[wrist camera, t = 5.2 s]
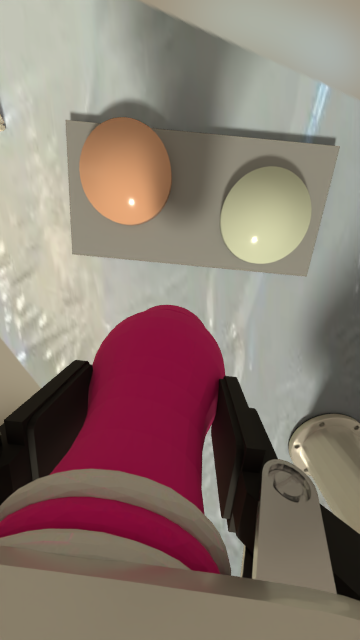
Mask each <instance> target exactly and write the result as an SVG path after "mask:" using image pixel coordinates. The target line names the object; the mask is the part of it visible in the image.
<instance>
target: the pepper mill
mask: <svg viewBox="0 0 360 640" xmlns="http://www.w3.org/2000/svg"><path fill="white" fill-rule="evenodd" d="M92 366H93V372H92V377H91V381H90V385H89V397H88V411H87V416H86V419H85V422H84V425H83V427H82V429H81V431H80V432H79V434H78V436H77V438H76V439H75V441H74V443H73V445H72V446H71V448H70V450H69V451H68V452H67V454H66V455H65V456H64V457H63V459H62V460H61V461H60V462H59V464H58V465H57V466H56V467H55V469H54V470H53V471H52V472H51V474H50V475H48V476H45V477H42V478H39V479H36V480H34V481H33V482H31V483H29V484H27V485H25V486H23V487H21V488H19V489H18V490H17V491H15V492H14V493H13V494H12V495H10V496H9V497H8V498H7V499H6V500H5V501H4V502H3V503H2V504H1V506H0V546H7V547H16V548H24V549H32V550H37V551H41V552H47V553H53V554H59V555H65V556H73V557H81V558H89V559H99V560H113V561H125V562H133V563H141V564H148V565H155V566H163V567H170V568H178V569H185V570H193V571H200V572H207V573H215V574H222V575H230V576H231V568H230V563H229V559H228V555H227V551H226V547H225V544H224V542H223V540H222V538H221V536H220V534H219V532H218V531H217V529H216V528H215V526H214V525H213V523H212V522H211V521H210V520H209V519H208V518H207V517H206V516H205V515H204V507H203V498H202V490H201V485H202V450H203V445H204V440H205V436H206V434H207V432H208V430H209V428H210V426H211V425H212V423H213V421H214V419H215V415H216V410H217V402H218V390H219V379H223V377H224V376H225V368H224V362H223V357H222V354H221V350H220V348H219V346H218V344H217V342H216V341H215V339H214V338H213V336H212V335H211V334H210V332H209V331H208V330H207V329H206V328H205V326H204V325H203V323H202V322H201V320H200V319H199V318H198V317H197V316H196V315H194V314H193V313H192V312H190V311H189V310H187V309H185V308H182V307H179V306H174V305H159V306H155V307H152V308H150V309H148V310H146V311H144V312H140V313H137V314H135V315H133V316H130V317H128V318H126V319H125V320H123V321H122V322H121V323H119V324H118V325H117V326H116V327H115V328H114V329H113V330H112V331H111V332H110V333H109V334H108V336H107V337H106V338H105V340H104V341H103V342H102V344H101V346H100V348H99V350H98V351H97V353H96V356H95V359H94V362H93V365H92Z"/></svg>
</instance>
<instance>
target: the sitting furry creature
mask: <svg viewBox="0 0 360 640" xmlns="http://www.w3.org/2000/svg"><path fill="white" fill-rule="evenodd" d="M3 124H4V121H3V119H2V117H1V115H0V132H1V131H4V130H5V126H4V125H3Z"/></svg>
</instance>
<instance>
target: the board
mask: <svg viewBox="0 0 360 640" xmlns="http://www.w3.org/2000/svg"><path fill="white" fill-rule="evenodd" d="M100 124H101V123H92V122H82V121H71V120H66V137H67V157H68V176H69V196H70V216H71V236H72V254H76V255H86V256H97V257H107V258H118V259H128V260H139V261H149V262H160V263H170V264H181V265H191V266H202V267H212V268H223V269H233V270H244V271H254V272H265V273H275V274H286V275H296V276H306V277H307V273H308V269H309V265H310V261H311V257H312V253H313V249H314V246H315V242H316V238H317V234H318V230H319V226H320V222H321V218H322V214H323V211H324V207H325V203H326V199H327V195H328V191H329V187H330V183H331V179H332V176H333V172H334V168H335V164H336V160H337V156H338V152H339V148H340V146H331V145H321V144H310V143H300V142H290V141H279V140H269V139H258V138H248V137H238V136H227V135H217V134H206V133H196V132H186V131H175V130H165V129H154V128H151V129H152V130H153V131H154V132H155V133H156V134H157V135H158V137H159V138H160V139H161V141H162V143H163V144H164V146H165V148H166V150H167V153H168V156H169V160H170V165H171V172H172V185H171V191H170V195H169V198H168V200H167V202H166V204H165V206H164V208H163V209H162V210H161V212H160V213H159V214H158V215H157V216H156V217H154V218H153V219H152V220H150V221H148V222H146V223H144V224H140V225H134V226H128V225H122V224H119V223H116V222H114V221H112V220H110V219H108V218H106V217H105V216H103V215H102V214H101V213H99V212H98V211H97V210H96V209H95V208H94V207H93V205H92V204H91V203H90V201H89V200H88V198H87V196H86V194H85V192H84V190H83V187H82V183H81V179H80V171H79V162H80V155H81V151H82V148H83V145H84V143H85V141H86V139H87V137H88V136H89V135H90V133H91V132H92V131H93V130H94V129H95V128H96V127H97V126H98V125H100ZM268 166H276V167H281V168H284V169H287V170H289V171H291V172H293V173H294V174H296V175H297V176H298V177H299V178H300V179H301V180H302V182H303V183H304V184H305V186H306V188H307V190H308V192H309V195H310V200H311V208H312V210H311V219H310V224H309V227H308V230H307V232H306V234H305V236H304V238H303V240H302V241H301V242H300V244H299V245H298V246H297V247H296V248H295V249H294V250H293V251H292V252H291V253H290V254H288V255H287V256H285V257H284V258H282V259H280V260H277V261H275V262H271V263H265V264H257V263H249V262H246V261H243V260H241V259H239V258H237V257H236V256H234V255H233V254H232V253H231V252H230V251H229V250H228V249H227V247H226V245H225V244H224V242H223V239H222V237H221V233H220V226H219V220H220V212H221V208H222V205H223V203H224V200H225V198H226V197H227V195H228V193H229V192H230V190H231V189H232V188H233V186H234V185H235V184H236V183H237V182H238V181H239V180H240V179H241V178H242V177H243V176H245V175H246V174H248V173H249V172H251V171H253V170H256V169H259V168H262V167H268Z"/></svg>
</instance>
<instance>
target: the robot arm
mask: <svg viewBox="0 0 360 640" xmlns="http://www.w3.org/2000/svg"><path fill="white" fill-rule="evenodd" d="M92 372H93V366H92V365H90V364H89V362H88V361H81V360H75V361H73V362H72V363H71V364H70V365H69V366H67V367H66V368H65V369H64V370H63V371H61V372H60V373H59V374H58V375H57V376H56V377H54V378H53V379H52V380H51V381H50V382H48V383H47V384H46V385H45V386H44V387H43V388H41V389H40V390H39V391H38V392H37V393H35V394H34V395H33V396H32V397H31V398H30V399H28V400H27V401H26V402H25V403H24V404H22V405H21V406H20V407H19V408H18V409H17V410H15V411H14V412H13V413H12V414H11V415H9V416H8V417H7V418H6V419H5V420H4V424H3V425H1V426H0V506H1V504H2V503H3V502H4V501H5V500H6V499H7V498H8V497H9V496H10V495H12V494H13V493H14V492H15V491H17V490H18V489H19V488H21V487H23V486H25V485H27V484H29V483H31V482H33V481H34V480H36V479H39V478H42V477H45V476H48V475H50V474H51V472H52V471H53V470H54V469H55V467H56V466H57V465H58V464H59V462H60V461H61V460H62V459H63V457H64V456H65V455H66V454H67V452H68V451H69V450H70V448H71V446H72V445H73V443H74V441H75V439H76V438H77V436H78V434H79V432H80V431H81V429H82V427H83V425H84V422H85V419H86V416H87V411H88V397H89V385H90V381H91V377H92ZM211 436H212V444H213V452H214V461H215V469H216V477H217V486H218V494H219V503H220V511H221V517H222V518H225V519H227V525H228V532H235V533H236V536H237V537H238V538H239V539H240V541H241V542H242V543H243V544H244V548H243V557H242V566H241V575H240V577H237V576H230V575H222V574H215V573H207V572H200V571H193V570H185V569H178V568H170V567H163V566H155V565H148V564H141V563H133V562H125V561H113V560H99V559H89V558H81V557H73V556H65V555H59V554H53V553H47V552H41V551H37V550H32V549H24V548H16V547H7V546H0V640H360V423H359V422H358V421H356V420H355V419H353V418H351V417H349V416H346V415H342V414H326V415H321V416H317V417H315V418H312V419H310V420H308V421H306V422H305V423H303V424H302V425H301V426H300V427H299V428H298V429H297V430H296V431H295V432H294V434H293V435H292V437H291V439H290V442H289V455H290V457H291V459H292V461H293V463H294V465H293V464H291V463H289V462H287V461H284V460H280V459H278V458H277V456H276V453H275V451H274V449H273V447H272V444H271V442H270V440H269V438H268V435H267V433H266V431H265V429H264V426H263V424H262V422H261V420H260V417H259V415H258V413H257V411H256V409H254V408H249V407H248V404H247V402H246V399H245V397H244V394H243V392H242V389H241V387H240V384H239V382H238V379H237V377H230V376H224V377H223V379H219V390H218V402H217V410H216V415H215V419H214V421H213V423H212V427H211ZM306 474H307V475H309V476H312V478H313V479H314V481H315V483H316V484H317V486H318V488H319V490H320V491H321V493H322V495H323V497H324V498H325V500H326V502H327V504H328V505H329V507H330V509H331V510H332V512H333V513H331V512H330V511H329V510H328V509H326V508H325V507H324V506H322V505H321V504H320V503H319V499H318V494H317V491H316V488H315V485H314V484H313V482H312V481H311V479H310V478H309V477H308V476H307V475H306Z"/></svg>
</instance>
